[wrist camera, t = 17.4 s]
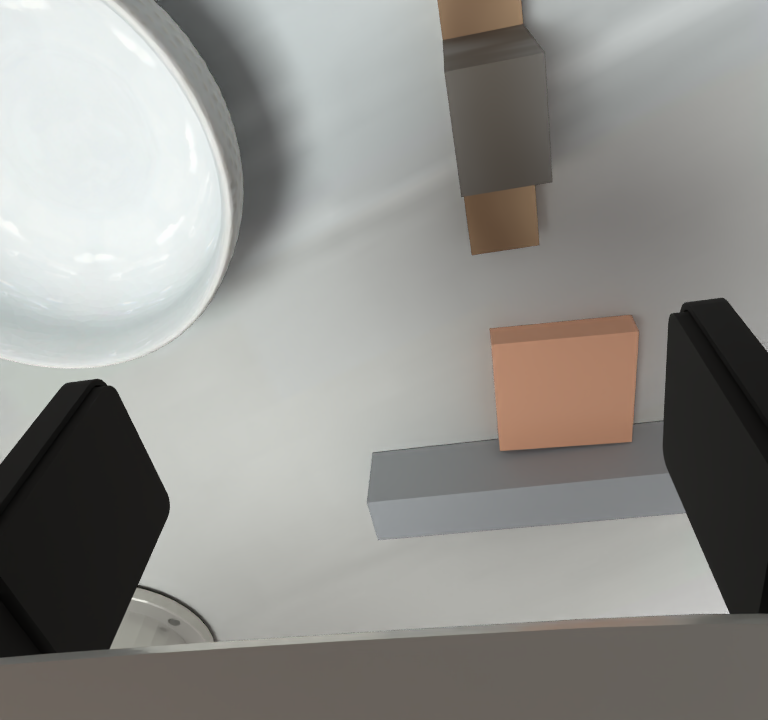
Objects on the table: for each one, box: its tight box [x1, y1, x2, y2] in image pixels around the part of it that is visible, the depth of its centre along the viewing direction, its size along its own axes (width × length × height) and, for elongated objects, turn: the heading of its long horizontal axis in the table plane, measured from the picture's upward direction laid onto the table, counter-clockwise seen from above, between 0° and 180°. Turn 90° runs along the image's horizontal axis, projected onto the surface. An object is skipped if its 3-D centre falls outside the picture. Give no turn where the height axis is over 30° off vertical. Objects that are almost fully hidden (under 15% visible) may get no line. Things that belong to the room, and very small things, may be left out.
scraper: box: [437, 0, 552, 255], centre depth 25 cm, size 3×14×8 cm, turn 11°
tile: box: [490, 315, 639, 451], centre depth 35 cm, size 7×7×2 cm
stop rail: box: [367, 421, 686, 540], centre depth 37 cm, size 3×20×4 cm, turn 101°
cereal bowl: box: [0, 0, 244, 369], centre depth 27 cm, size 17×17×7 cm
